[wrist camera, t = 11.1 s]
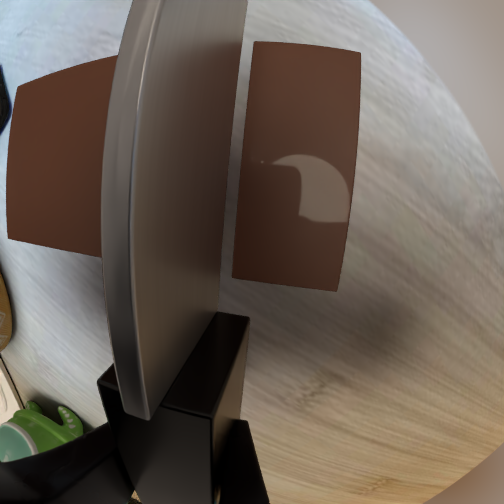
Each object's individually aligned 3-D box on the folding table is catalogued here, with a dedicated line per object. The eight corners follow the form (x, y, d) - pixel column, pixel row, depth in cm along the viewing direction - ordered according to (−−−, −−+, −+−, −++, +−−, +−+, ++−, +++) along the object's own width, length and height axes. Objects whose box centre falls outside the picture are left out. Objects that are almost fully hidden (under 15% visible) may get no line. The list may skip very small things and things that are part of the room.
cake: (180, 79, 12) (141, 49, 8) (166, 240, 14) (122, 261, 10) (64, 97, 13) (17, 86, 9) (54, 225, 15) (7, 238, 11)
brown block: (343, 86, 11) (361, 52, 7) (326, 260, 13) (337, 292, 9) (266, 78, 12) (253, 40, 8) (250, 250, 14) (231, 278, 10)
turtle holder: (187, 494, 20) (150, 586, 9) (66, 462, 24) (23, 519, 12) (126, 409, 18) (43, 525, 6) (13, 387, 21) (-49, 442, 10)
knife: (235, 457, 10) (210, 545, 6) (180, 444, 10) (142, 525, 6) (282, 2, 6) (261, -113, 1) (199, 4, 6) (129, -87, 2)
